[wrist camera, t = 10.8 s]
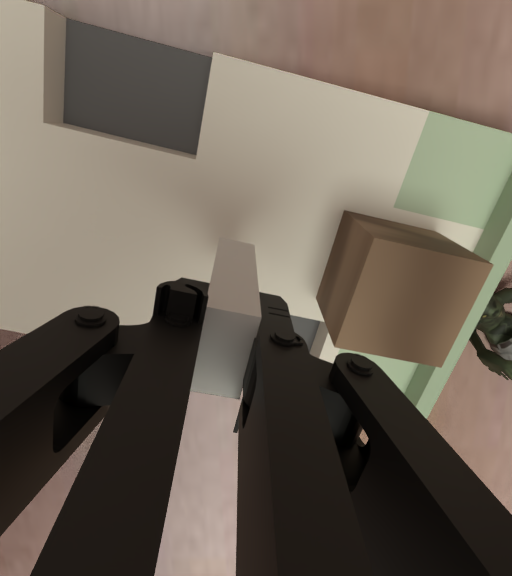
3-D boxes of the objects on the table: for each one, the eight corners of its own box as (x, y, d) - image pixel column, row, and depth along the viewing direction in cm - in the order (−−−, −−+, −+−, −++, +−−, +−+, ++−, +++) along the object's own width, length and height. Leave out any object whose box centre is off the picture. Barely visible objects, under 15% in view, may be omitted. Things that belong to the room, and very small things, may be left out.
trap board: (-85, 283, 23) (-157, 318, 19) (-127, -32, 17) (-246, -81, 13) (397, 376, 27) (424, 422, 23) (507, 140, 21) (572, 144, 16)
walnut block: (315, 298, 21) (334, 347, 16) (344, 210, 19) (374, 237, 14) (400, 315, 21) (441, 367, 17) (436, 231, 19) (493, 264, 15)
